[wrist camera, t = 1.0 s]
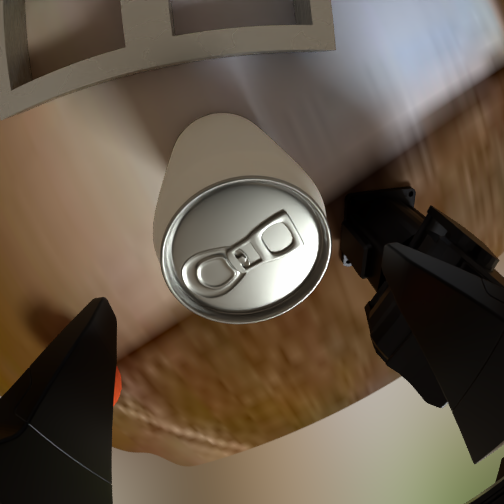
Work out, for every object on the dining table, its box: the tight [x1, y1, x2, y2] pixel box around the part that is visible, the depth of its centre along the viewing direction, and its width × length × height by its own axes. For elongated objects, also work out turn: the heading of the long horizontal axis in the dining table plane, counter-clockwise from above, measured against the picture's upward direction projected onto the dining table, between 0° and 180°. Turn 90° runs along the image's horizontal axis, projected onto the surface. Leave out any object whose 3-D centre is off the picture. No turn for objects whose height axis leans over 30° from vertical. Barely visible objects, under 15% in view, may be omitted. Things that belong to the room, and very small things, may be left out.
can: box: [153, 113, 332, 324], centre depth 15 cm, size 6×6×12 cm
